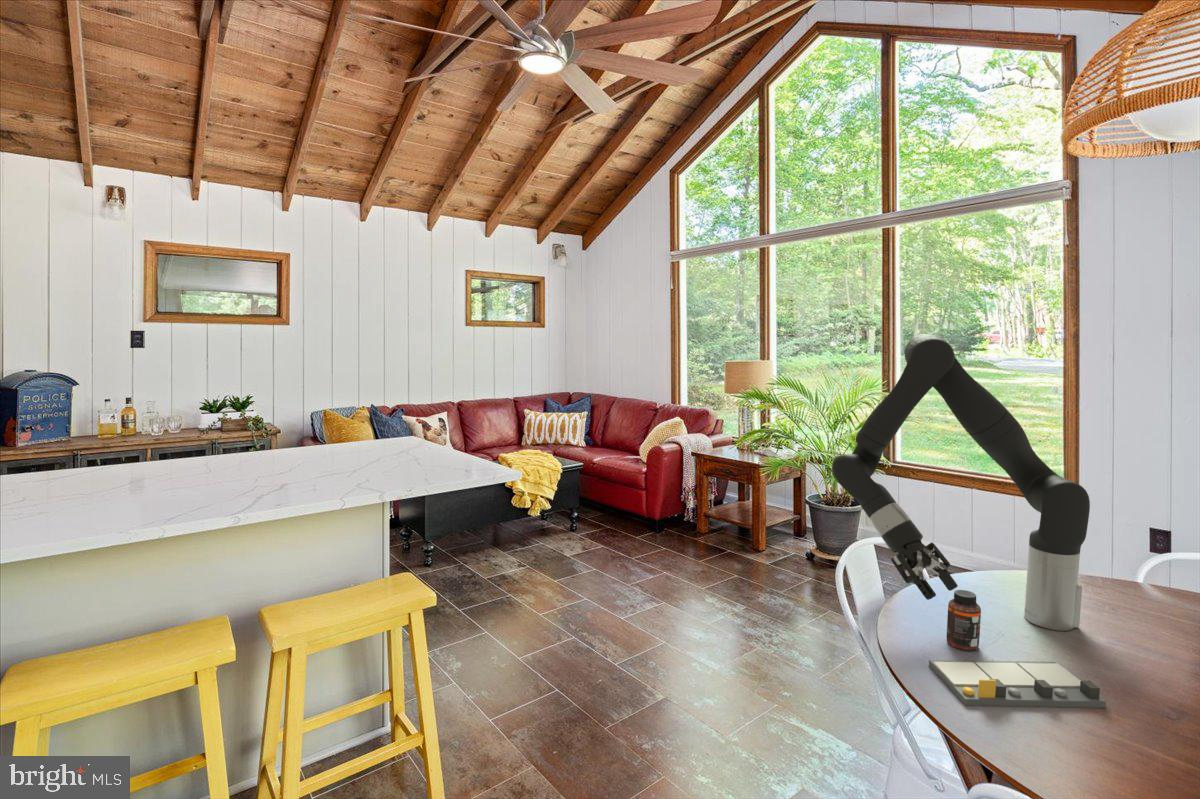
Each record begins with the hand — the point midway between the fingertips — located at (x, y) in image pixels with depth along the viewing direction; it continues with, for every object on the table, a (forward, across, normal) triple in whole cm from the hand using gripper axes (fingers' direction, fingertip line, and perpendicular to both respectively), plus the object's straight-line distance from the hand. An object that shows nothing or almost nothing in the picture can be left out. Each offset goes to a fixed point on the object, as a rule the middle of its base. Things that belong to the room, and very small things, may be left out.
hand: (943, 593), depth 131 cm
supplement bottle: (+10, 0, +4) cm, 11 cm away
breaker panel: (+19, -8, -5) cm, 21 cm away
